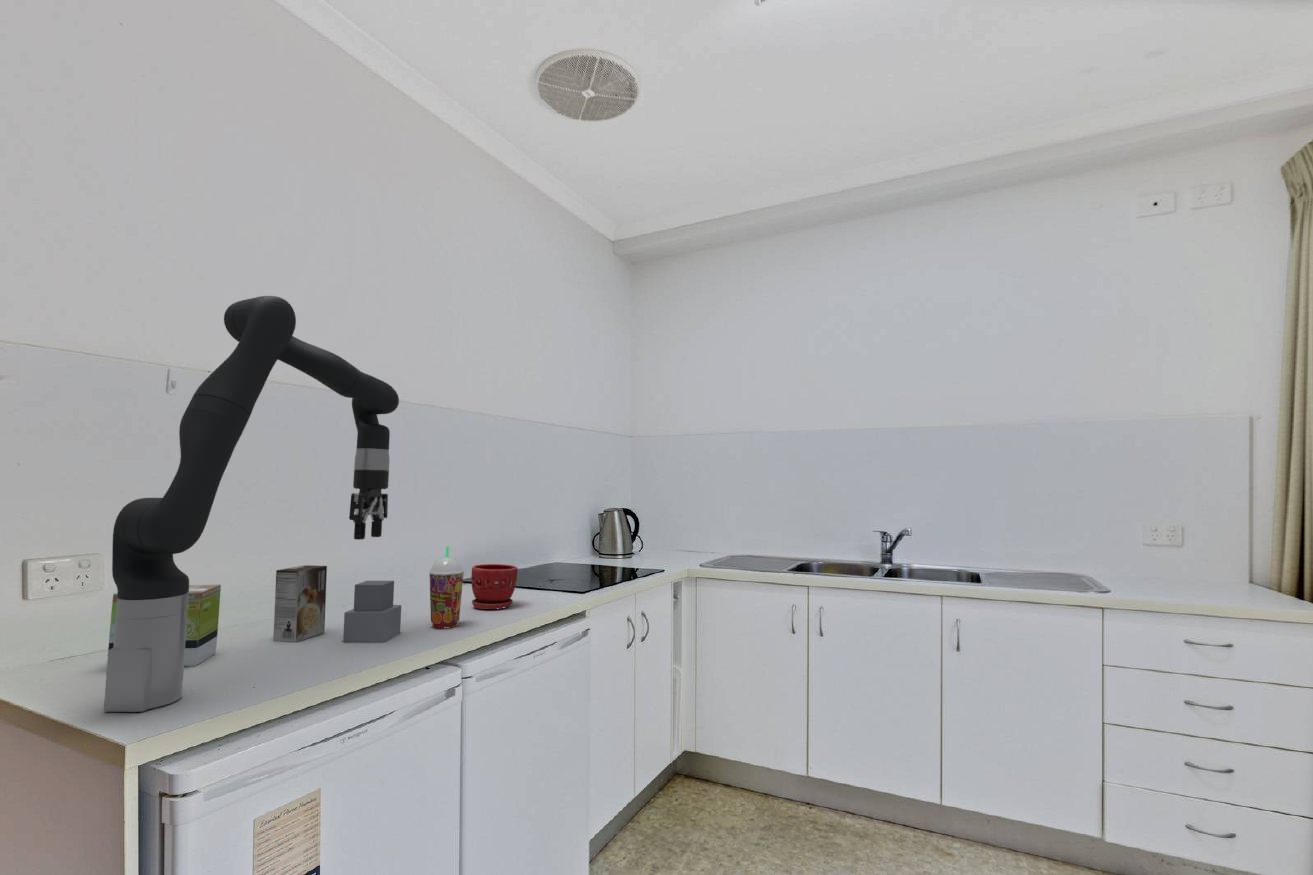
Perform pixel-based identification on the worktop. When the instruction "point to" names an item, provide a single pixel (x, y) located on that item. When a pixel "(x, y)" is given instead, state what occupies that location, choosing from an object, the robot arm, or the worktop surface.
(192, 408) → the robot arm
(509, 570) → the plant pot
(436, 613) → the smoothie
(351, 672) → the worktop surface
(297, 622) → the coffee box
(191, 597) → the tea box
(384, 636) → the stepped grey block
